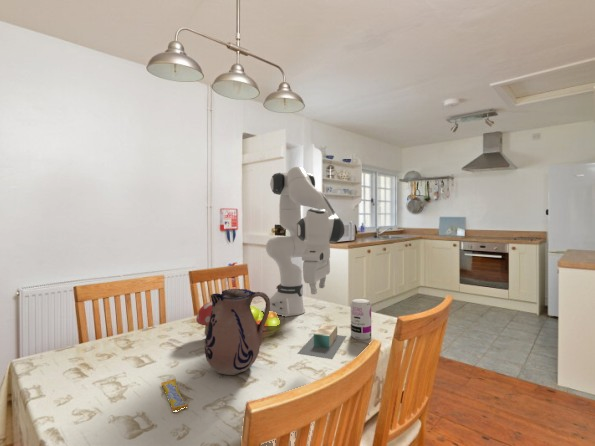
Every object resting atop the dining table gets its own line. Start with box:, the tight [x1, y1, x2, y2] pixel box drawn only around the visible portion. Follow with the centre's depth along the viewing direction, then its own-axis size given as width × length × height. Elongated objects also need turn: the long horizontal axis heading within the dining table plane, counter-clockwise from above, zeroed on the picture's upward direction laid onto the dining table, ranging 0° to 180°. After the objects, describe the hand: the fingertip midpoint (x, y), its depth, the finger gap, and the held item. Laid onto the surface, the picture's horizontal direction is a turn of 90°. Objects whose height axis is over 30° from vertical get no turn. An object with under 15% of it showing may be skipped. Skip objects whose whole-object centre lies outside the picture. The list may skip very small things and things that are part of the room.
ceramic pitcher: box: [204, 288, 270, 376], centre depth 105 cm, size 18×21×25 cm
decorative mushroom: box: [195, 301, 212, 336], centre depth 131 cm, size 13×13×15 cm
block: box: [313, 323, 338, 348], centre depth 126 cm, size 6×4×12 cm
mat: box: [296, 334, 347, 360], centre depth 123 cm, size 13×22×1 cm, turn 158°
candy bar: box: [160, 378, 189, 411], centre depth 89 cm, size 17×4×2 cm, turn 32°
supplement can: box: [350, 298, 372, 341], centre depth 130 cm, size 8×8×15 cm
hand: (318, 290), depth 117 cm, fingers open, 8 cm apart
